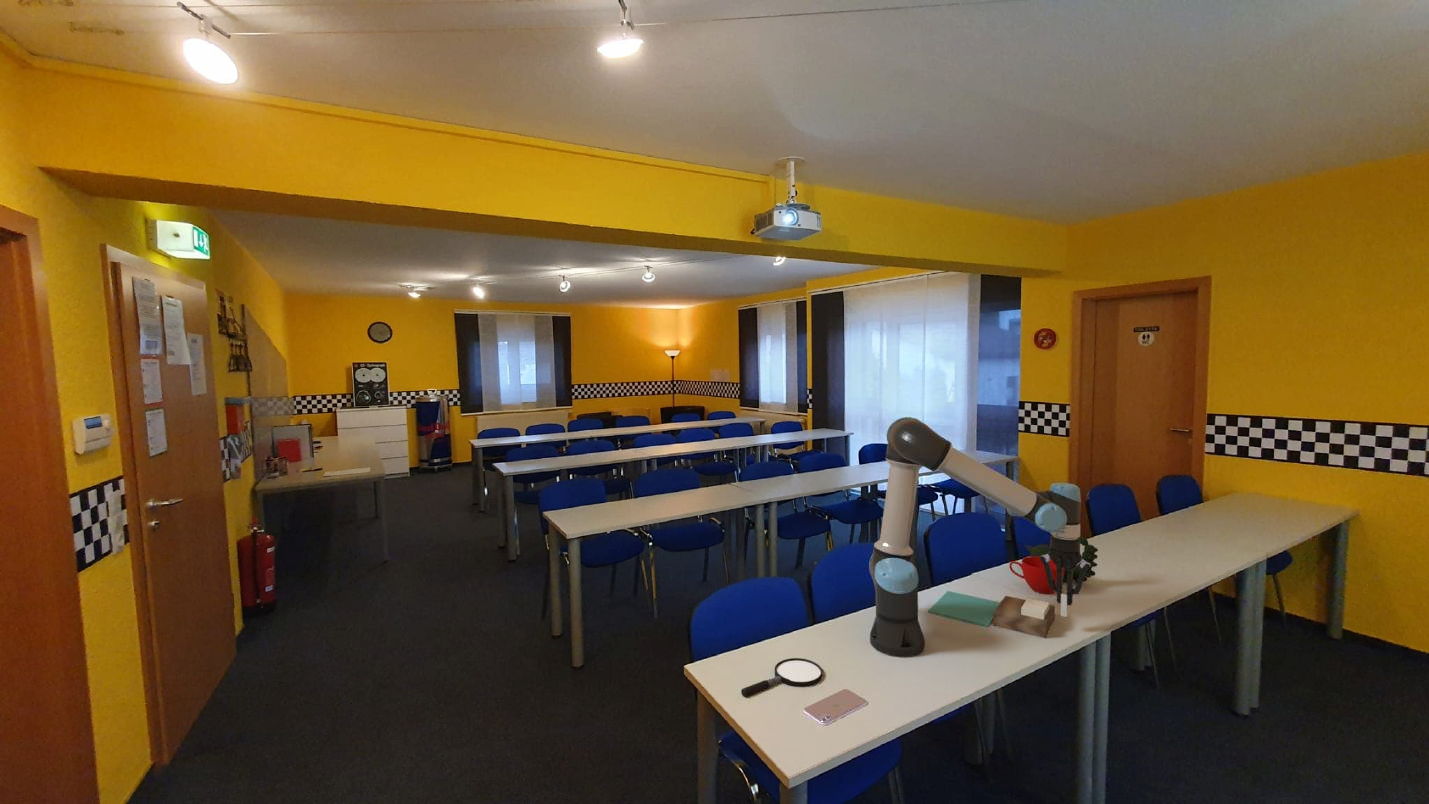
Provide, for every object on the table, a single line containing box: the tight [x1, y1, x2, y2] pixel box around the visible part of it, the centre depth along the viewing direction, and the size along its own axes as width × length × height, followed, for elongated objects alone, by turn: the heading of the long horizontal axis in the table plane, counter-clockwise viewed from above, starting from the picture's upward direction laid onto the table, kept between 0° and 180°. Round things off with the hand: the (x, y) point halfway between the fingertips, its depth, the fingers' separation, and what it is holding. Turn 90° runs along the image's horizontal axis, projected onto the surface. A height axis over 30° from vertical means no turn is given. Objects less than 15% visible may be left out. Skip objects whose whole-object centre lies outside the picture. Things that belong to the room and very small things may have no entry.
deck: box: [992, 595, 1056, 639], centre depth 176 cm, size 14×16×4 cm
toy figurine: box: [1024, 535, 1099, 584], centre depth 210 cm, size 9×19×25 cm
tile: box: [1021, 598, 1050, 620], centre depth 174 cm, size 6×9×2 cm, turn 141°
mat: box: [927, 590, 1001, 628], centre depth 187 cm, size 18×20×1 cm
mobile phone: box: [803, 688, 868, 726], centre depth 136 cm, size 8×1×15 cm
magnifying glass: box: [740, 657, 823, 699], centre depth 148 cm, size 12×24×2 cm, turn 122°
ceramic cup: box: [1009, 556, 1065, 595], centre depth 200 cm, size 13×17×10 cm
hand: (1064, 614), depth 169 cm, fingers closed
